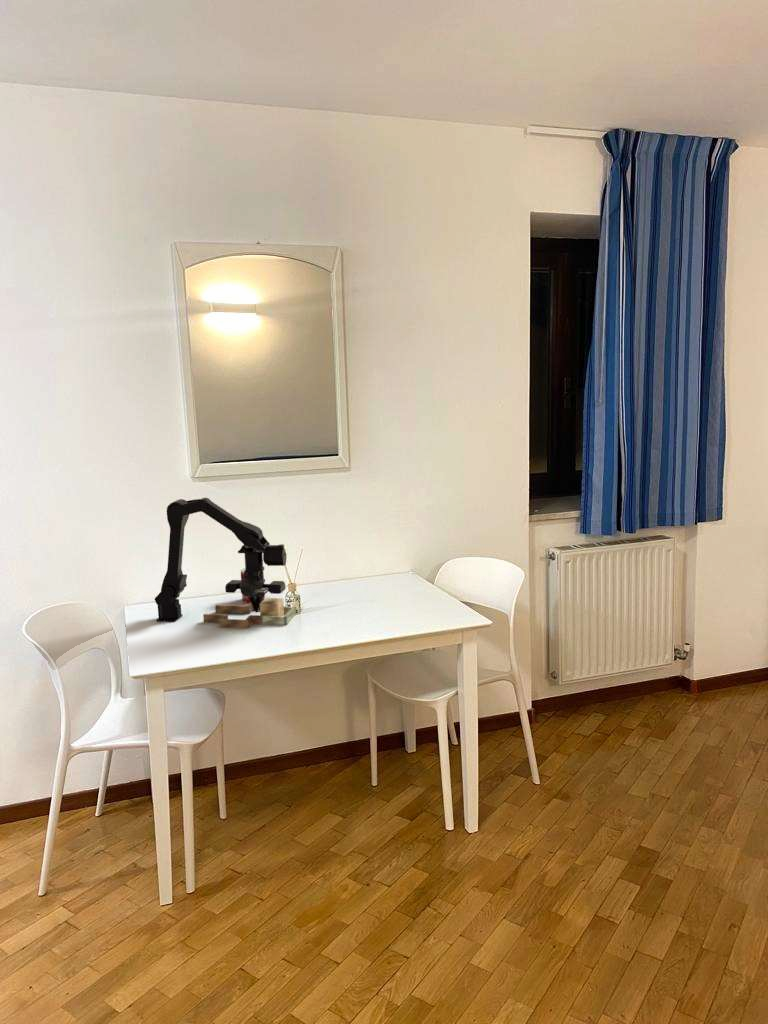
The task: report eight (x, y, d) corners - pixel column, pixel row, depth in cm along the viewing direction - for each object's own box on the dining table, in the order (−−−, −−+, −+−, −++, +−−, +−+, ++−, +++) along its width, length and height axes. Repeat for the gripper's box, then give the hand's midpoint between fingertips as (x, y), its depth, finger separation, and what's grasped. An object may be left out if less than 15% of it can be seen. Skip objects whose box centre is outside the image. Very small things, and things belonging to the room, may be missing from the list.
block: (260, 621, 245) (259, 603, 244) (266, 615, 251) (265, 598, 250) (278, 621, 244) (277, 604, 243) (284, 616, 250) (283, 598, 249)
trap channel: (198, 626, 242) (197, 619, 241) (221, 607, 261) (221, 600, 261) (282, 629, 237) (282, 621, 236) (300, 609, 256) (300, 602, 256)
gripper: (217, 571, 239) (220, 619, 242) (274, 572, 236) (276, 620, 239) (230, 563, 250) (233, 608, 253) (284, 563, 247) (287, 609, 250)
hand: (256, 612), depth 248 cm, fingers closed
